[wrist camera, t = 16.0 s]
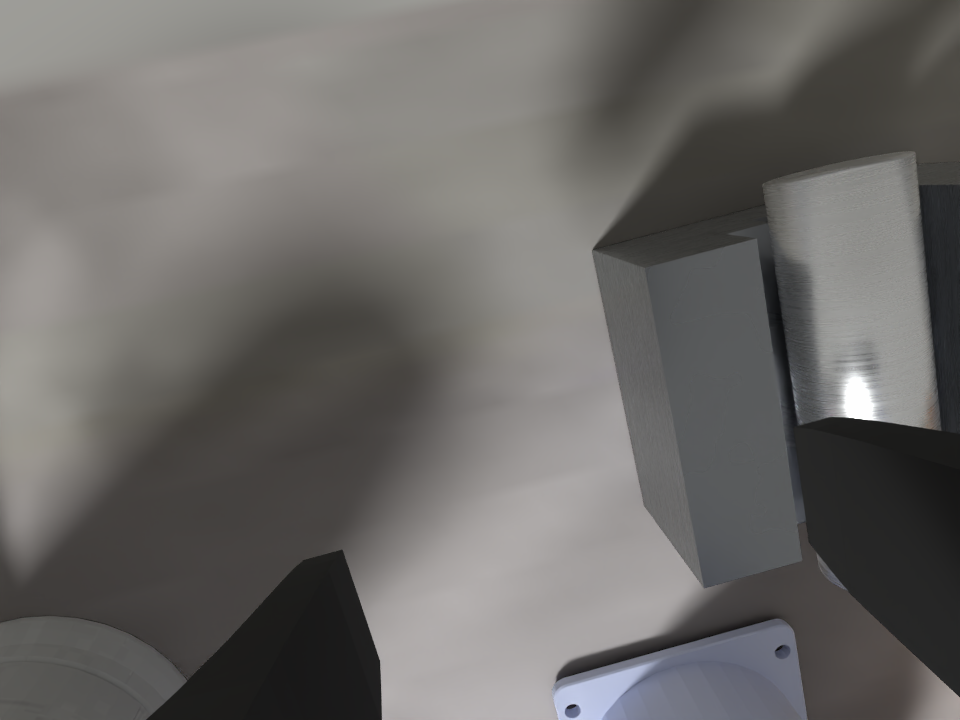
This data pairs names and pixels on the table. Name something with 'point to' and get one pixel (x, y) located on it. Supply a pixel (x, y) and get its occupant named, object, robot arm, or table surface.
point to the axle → (855, 292)
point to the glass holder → (80, 672)
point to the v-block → (738, 377)
